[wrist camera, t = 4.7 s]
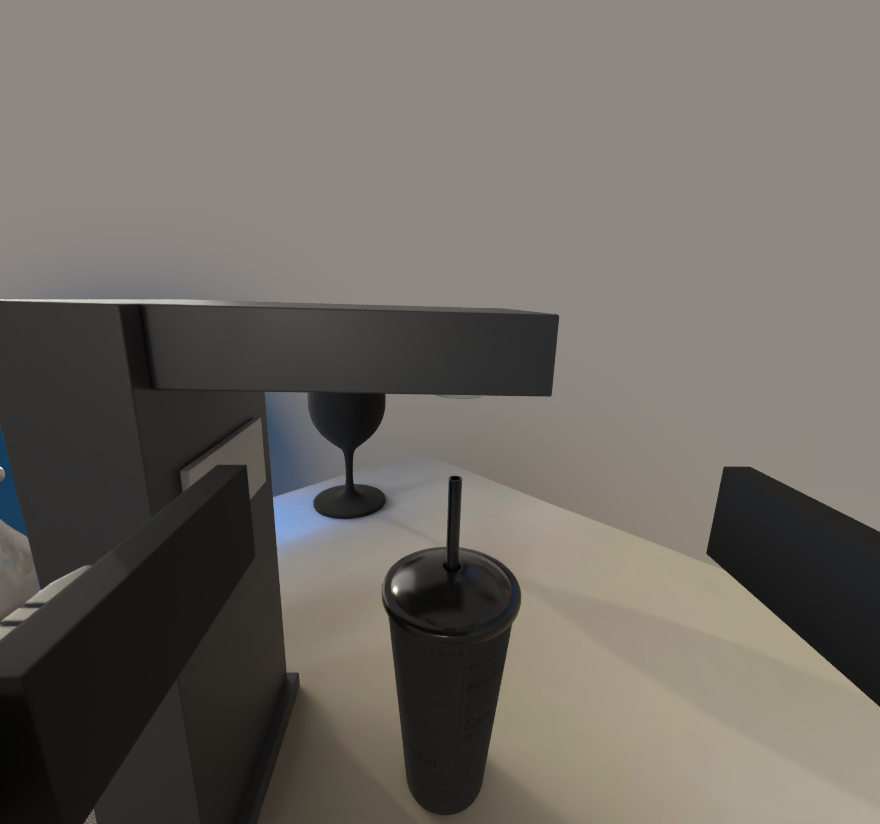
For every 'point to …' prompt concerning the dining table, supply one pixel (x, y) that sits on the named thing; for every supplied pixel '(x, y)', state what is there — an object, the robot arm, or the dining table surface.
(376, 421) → the wine glass
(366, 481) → the dining table surface
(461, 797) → the drinking cup
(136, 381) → the coffee maker
